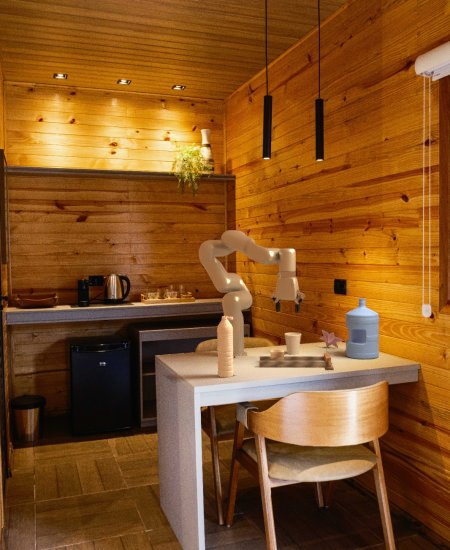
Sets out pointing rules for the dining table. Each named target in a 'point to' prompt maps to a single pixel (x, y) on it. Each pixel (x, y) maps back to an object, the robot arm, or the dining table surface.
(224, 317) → the water bottle
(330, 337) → the lily
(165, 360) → the dining table surface
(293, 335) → the dixie cup
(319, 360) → the track
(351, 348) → the water jug
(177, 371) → the dining table surface
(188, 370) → the dining table surface
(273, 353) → the birch block
